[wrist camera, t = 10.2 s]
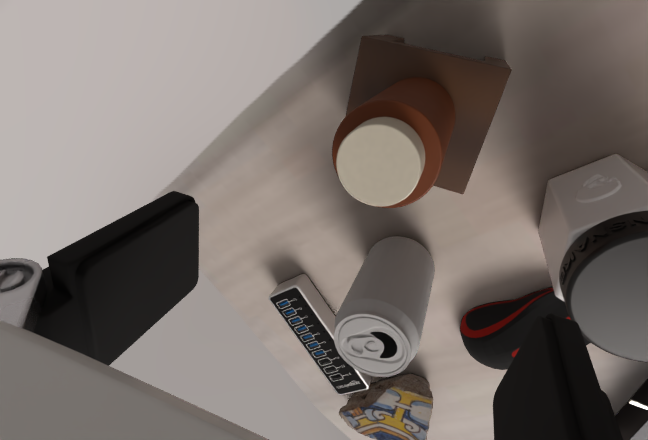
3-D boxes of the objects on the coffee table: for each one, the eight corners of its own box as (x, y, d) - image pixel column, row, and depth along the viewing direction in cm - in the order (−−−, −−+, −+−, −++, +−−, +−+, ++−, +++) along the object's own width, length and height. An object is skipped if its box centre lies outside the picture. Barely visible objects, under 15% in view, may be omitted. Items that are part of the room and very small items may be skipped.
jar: (651, 135, 27) (751, 199, 17) (690, 233, 29) (803, 345, 19) (517, 188, 32) (532, 263, 21) (557, 270, 33) (589, 377, 23)
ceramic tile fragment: (391, 372, 40) (471, 433, 40) (398, 349, 43) (472, 406, 42) (331, 419, 46) (399, 471, 46) (340, 396, 49) (404, 446, 49)
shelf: (385, 34, 30) (361, 35, 24) (506, 60, 28) (511, 69, 22) (362, 134, 34) (337, 157, 28) (467, 164, 32) (463, 194, 26)
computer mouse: (601, 331, 34) (614, 364, 31) (482, 363, 40) (482, 394, 36) (566, 274, 33) (575, 302, 30) (448, 315, 39) (445, 343, 35)
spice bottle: (386, 68, 25) (331, 91, 16) (467, 87, 24) (456, 124, 15) (368, 144, 27) (311, 201, 18) (440, 165, 26) (417, 236, 17)
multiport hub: (304, 272, 42) (296, 284, 40) (375, 373, 45) (370, 389, 43) (276, 285, 45) (266, 297, 43) (344, 381, 47) (338, 396, 45)
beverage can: (443, 285, 38) (428, 381, 27) (380, 293, 40) (345, 382, 30) (424, 226, 36) (401, 305, 26) (360, 239, 39) (315, 314, 28)
